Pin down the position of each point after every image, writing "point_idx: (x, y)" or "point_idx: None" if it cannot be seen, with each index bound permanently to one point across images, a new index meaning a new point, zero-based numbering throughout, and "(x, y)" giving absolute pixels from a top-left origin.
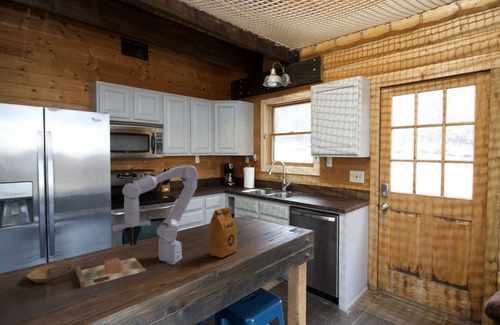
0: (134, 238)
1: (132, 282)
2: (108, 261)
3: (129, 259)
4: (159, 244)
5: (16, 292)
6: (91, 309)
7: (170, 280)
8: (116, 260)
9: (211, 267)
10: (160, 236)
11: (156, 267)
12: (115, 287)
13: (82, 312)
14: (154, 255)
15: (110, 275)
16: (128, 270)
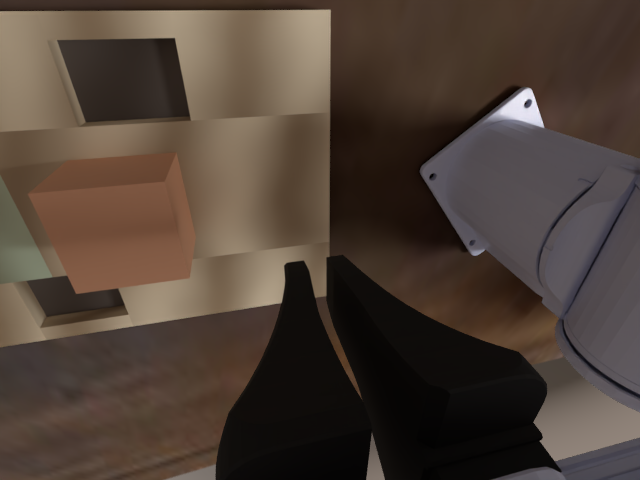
0: (351, 352)
1: (244, 341)
2: (80, 240)
3: (282, 26)
4: (525, 244)
5: None
6: (85, 458)
7: None
8: (154, 251)
9: (542, 339)
10: (611, 251)
11: (394, 239)
12: (165, 356)
13: (54, 465)
14: (489, 2)
15: None
16: (241, 253)
